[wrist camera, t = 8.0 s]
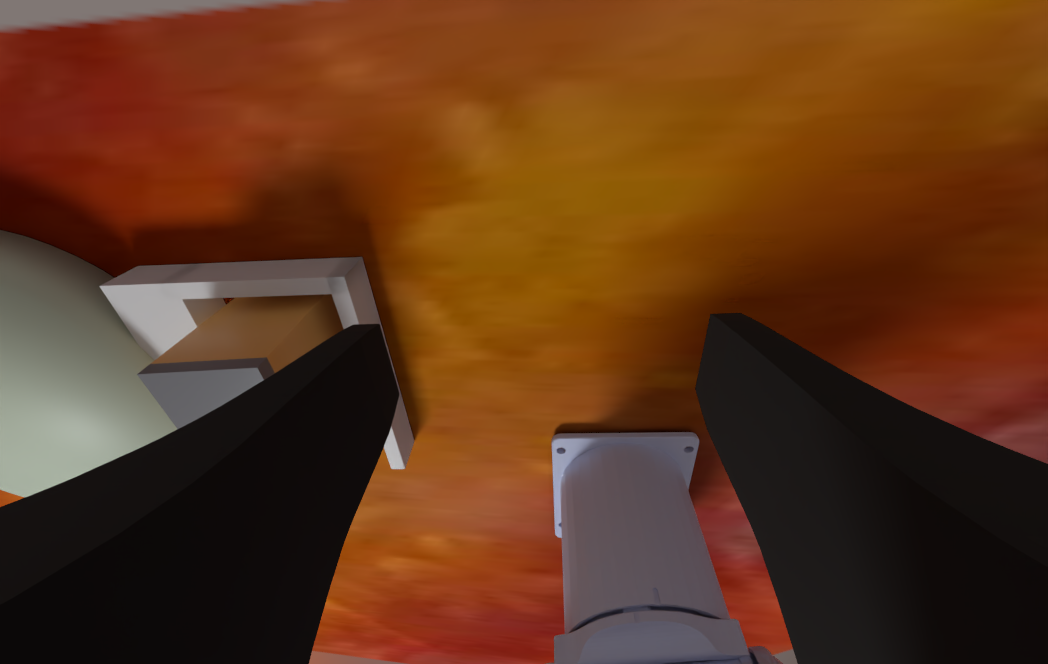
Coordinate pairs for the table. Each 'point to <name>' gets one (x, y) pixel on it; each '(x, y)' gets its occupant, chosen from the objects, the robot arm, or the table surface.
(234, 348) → the rectangular flat-faced block
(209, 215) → the table surface
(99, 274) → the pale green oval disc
